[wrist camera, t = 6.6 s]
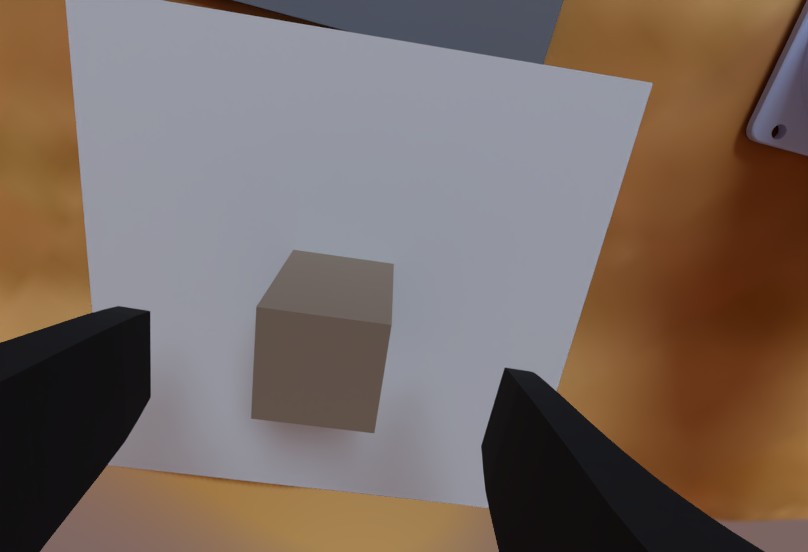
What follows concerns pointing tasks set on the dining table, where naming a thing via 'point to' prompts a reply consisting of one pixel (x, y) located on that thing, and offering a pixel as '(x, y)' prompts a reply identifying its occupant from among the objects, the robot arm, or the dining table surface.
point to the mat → (438, 22)
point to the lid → (335, 237)
